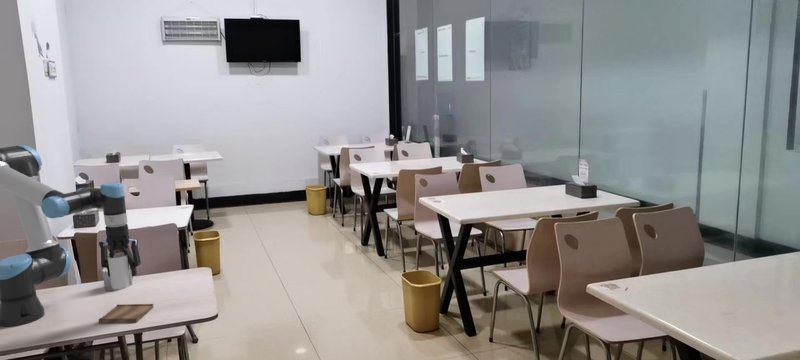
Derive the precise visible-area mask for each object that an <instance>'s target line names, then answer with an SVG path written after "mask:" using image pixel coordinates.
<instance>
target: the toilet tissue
mask: <svg viewBox="0 0 800 360" xmlns="http://www.w3.org/2000/svg"><path fill="white" fill-rule="evenodd" d="M102 276H103V277H102V278H103V284H104V290H105V291H107V292H116V291H121V290H124V289H126V288H124V289H113V288H112V286H111V279H110V277H108V272H107V268H105V267H103V269H102Z"/></svg>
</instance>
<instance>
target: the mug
mask: <svg viewBox="0 0 800 360" xmlns="http://www.w3.org/2000/svg"><path fill="white" fill-rule="evenodd" d="M108 263H109V270H110V277H111V283H112V288H113V289H122V290H124V288H125V289H126V288H127V289H128V288H129V287H130V278H129V270H128V269H129V268H130V265H129V263H128V258H127V255H126V256H125V255H124V253H123V252H118V253H117V252H116V253H115V254H114V257H113V258H110V255H109V254H108Z"/></svg>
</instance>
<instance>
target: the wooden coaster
mask: <svg viewBox="0 0 800 360" xmlns="http://www.w3.org/2000/svg"><path fill="white" fill-rule="evenodd" d="M152 309H154V303H134V304H133V303H131V304H130V303H129V304H127V303H126V304H117V305H116V306H115V307H113V308H112V309H110V311H108V312H107V313H106V314H104V315H103V316H102V317H101V318H98V324H114V323H116V324H119V323H121V324H123V323H125V324H126V323H128V324H129V323H138V322H139V321H140V320H141V319H142V318H143V317H144V316H146V315H147V314H148V313H149V312H150V311H151V310H152Z"/></svg>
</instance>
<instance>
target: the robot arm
mask: <svg viewBox="0 0 800 360" xmlns="http://www.w3.org/2000/svg"><path fill="white" fill-rule="evenodd" d="M42 163H43V162H42V159H41V156H40V154H39V153H38V151H37V150H36V149H34V148H32V147H31V146H29V145H13V146H6V147H0V188H1V189H3V190H6V191H7V192H9V193H11V194H12V197H13V201H14V203H15V207H16V210H17V212H18V217H19V220H20V224H21V226H22V229H23V233H24V235H25V238H26V242H27V245H28V246H27V248H26V250H25V253H24V254H23V253H21V254H16V255H12V256H8V257H6V258H3V259H1V260H0V326H2V327H14V326H20V325H26V324H28V323H31V322H35V321H37V320H39V319H40V318H42V317H43V316H44V315H46V314H45V307H44V306H43V304H42V303H41V301H40V298H39V297H38V295H37V291H36V290H37V288H36V286H39V285H42V284H44V283H47V282H49V281H52V280H57V279H58V278H60V277H62V276H64V275H66V274H67V273H68V272H69V270H70V268H71V264H72V258H71V253H70V252H69V250H67V248H66V247H63V246H61V245H60V242H59V241H56V240H55V239H54V238H53V237H54V236H53V234H52V231H51V227H50V224H49V221H48V218H49V219H57V218H64V217H65V216H69V215H74V214H77V213H81V212H84V211H88V210H92V209H101V210H103V211H102V212H103V219H104V226H105V228H104V229H105V235H106V239H103V240H100V241H99V242H98V245H99V247H100V263H101V264H100V266H101V268H107V272H108V277H110V270H109V263H108V256H109V255H110V258H113V257H114V254H116V253H117V251H118V250H119V251H121V253H124V255H125V256H126V255H127V258H128V263H129V265H130V268H129V269H128V270H129V278H130V286H134V285H135V284H136V276H137V275H138V273H137V272H138V271H137V267H138V266H140V265H142V261H141V256H140V251H139V247H138V243H139V240H138V239H137V238H135V239H131V237H130V235H129V233H130V231H129V225H128V216H127V208H126V199H125V197H126V196H125V195H126V194H125V190H124V185H123V184H122V183H121V182H117V181H116V182H107V183H102V184H100V188H98V187H89V186H87V187H80V188H77V190H75V191H72V192H71V191H70V192H67V193H64V192H61V191H59V190H57V189H55V188H53V187H51V186H48V185H47V184H44V183H43V182H40V181H38V178H39V174H38V173H39V172H40V171H41V169H42V166H43V164H42ZM129 244H130V246H129ZM108 246H109V250H108ZM130 249H131V250H130ZM108 251H109V254H108ZM110 279H111V277H110ZM111 286H112V283H111ZM130 286H129V287H130Z"/></svg>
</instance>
